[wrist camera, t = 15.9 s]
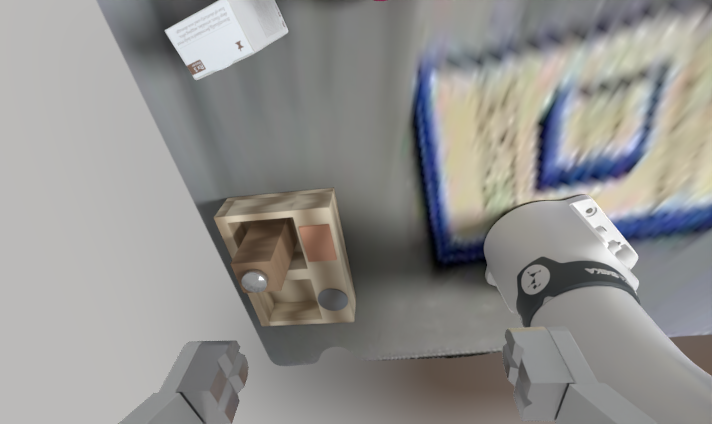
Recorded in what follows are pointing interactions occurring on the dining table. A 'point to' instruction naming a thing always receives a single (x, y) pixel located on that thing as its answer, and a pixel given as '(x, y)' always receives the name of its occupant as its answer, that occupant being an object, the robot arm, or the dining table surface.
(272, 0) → the skincare box
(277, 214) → the tag socket block
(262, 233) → the plug
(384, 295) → the dining table surface
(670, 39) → the dining table surface
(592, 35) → the dining table surface
